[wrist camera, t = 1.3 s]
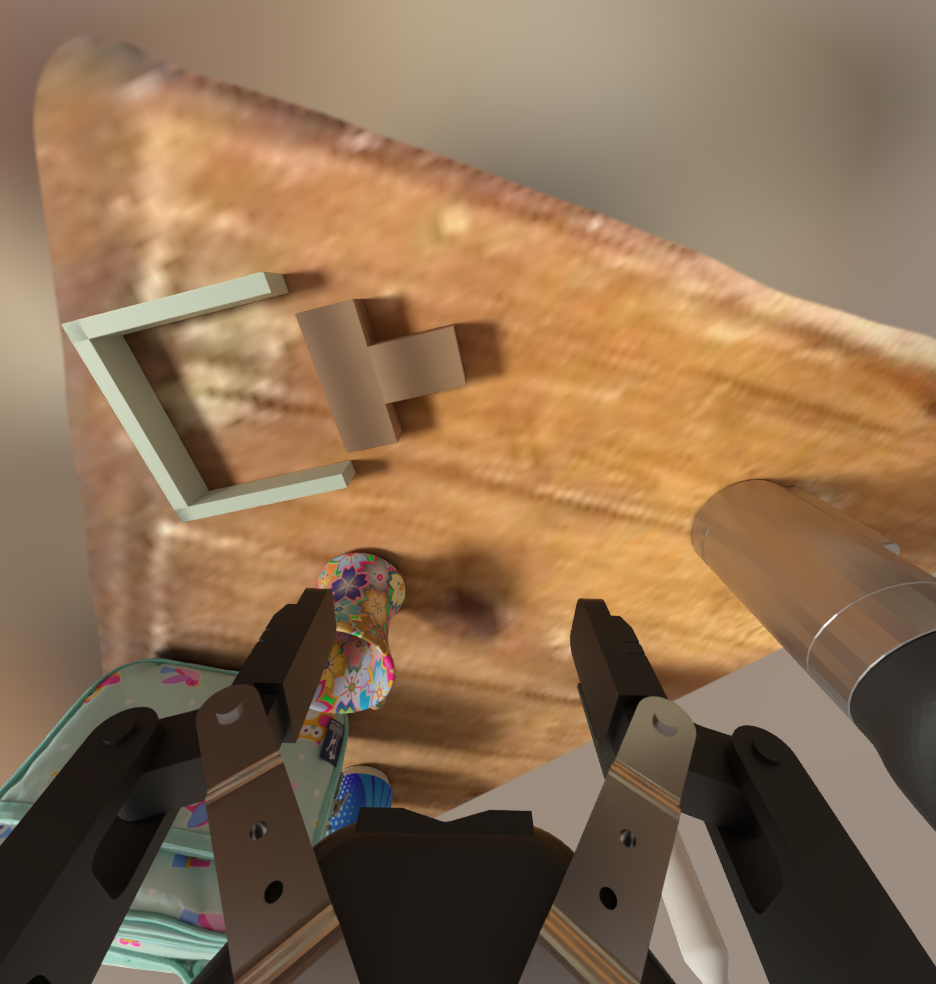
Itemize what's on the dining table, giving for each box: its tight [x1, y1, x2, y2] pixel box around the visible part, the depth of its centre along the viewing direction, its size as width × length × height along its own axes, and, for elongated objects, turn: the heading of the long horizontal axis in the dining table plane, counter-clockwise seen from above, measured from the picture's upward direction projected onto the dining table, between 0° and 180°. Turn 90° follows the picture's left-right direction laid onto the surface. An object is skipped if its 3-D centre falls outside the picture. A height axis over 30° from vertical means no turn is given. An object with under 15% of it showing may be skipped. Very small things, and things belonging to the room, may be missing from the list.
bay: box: [61, 272, 356, 522], centre depth 31 cm, size 14×15×3 cm
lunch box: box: [0, 658, 350, 984], centre depth 37 cm, size 27×10×21 cm, turn 71°
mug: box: [310, 553, 405, 714], centre depth 36 cm, size 12×9×11 cm
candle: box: [577, 683, 728, 984], centre depth 35 cm, size 5×5×25 cm
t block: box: [295, 299, 466, 453], centre depth 30 cm, size 10×10×3 cm
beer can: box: [325, 766, 393, 837], centre depth 47 cm, size 8×8×16 cm
